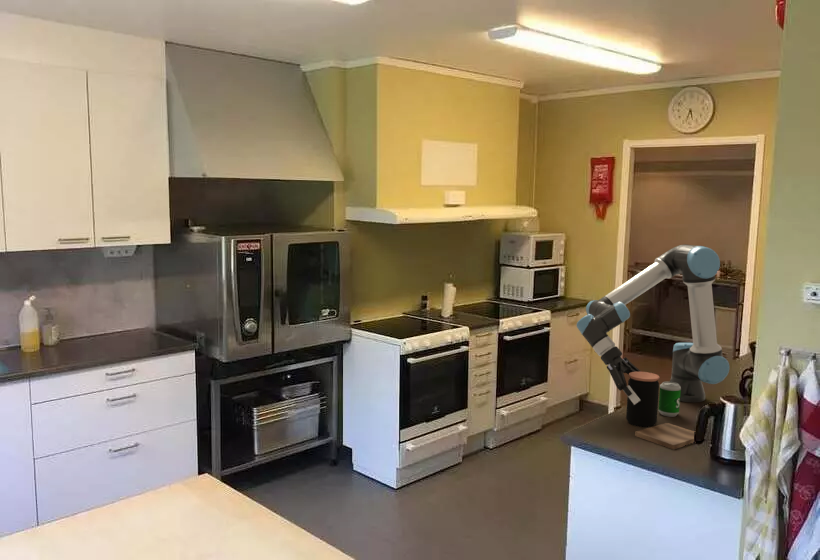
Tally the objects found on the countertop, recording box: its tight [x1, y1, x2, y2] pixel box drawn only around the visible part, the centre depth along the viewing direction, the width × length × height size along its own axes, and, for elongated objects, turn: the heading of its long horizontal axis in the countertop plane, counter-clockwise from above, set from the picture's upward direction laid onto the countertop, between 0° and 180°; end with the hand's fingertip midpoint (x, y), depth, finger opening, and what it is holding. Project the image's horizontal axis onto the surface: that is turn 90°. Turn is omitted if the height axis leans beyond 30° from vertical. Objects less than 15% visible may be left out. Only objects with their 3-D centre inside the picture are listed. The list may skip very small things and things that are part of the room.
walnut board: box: [634, 422, 695, 450], centre depth 231 cm, size 18×15×2 cm
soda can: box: [657, 381, 681, 418], centre depth 256 cm, size 8×8×12 cm
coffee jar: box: [625, 371, 660, 428], centre depth 245 cm, size 11×11×18 cm
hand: (644, 398), depth 244 cm, fingers open, 13 cm apart
